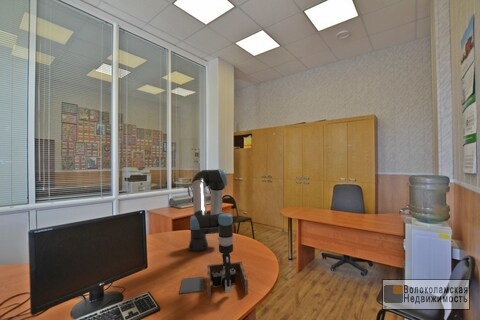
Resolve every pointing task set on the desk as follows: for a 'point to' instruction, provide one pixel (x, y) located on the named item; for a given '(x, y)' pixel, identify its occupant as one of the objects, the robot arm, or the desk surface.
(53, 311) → the desk surface
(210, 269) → the cubby
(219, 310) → the desk surface
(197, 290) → the mat
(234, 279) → the camera
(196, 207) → the robot arm
